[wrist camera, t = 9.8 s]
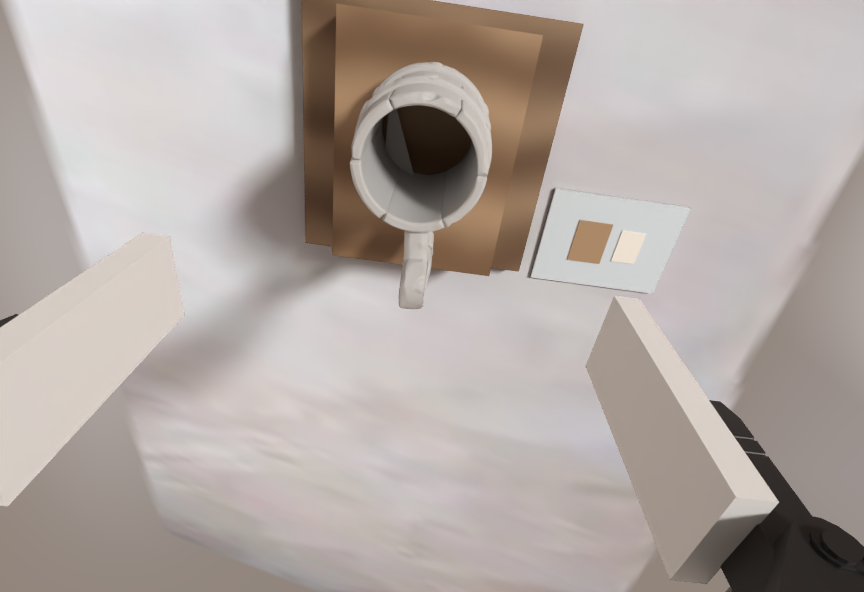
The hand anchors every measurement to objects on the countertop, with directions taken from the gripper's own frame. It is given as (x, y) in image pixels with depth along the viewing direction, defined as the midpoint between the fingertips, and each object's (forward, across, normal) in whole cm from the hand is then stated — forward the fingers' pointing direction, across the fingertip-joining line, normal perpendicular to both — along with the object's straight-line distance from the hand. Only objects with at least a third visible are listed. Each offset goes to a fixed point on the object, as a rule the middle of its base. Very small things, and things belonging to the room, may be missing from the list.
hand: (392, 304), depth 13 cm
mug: (+19, 0, 0) cm, 19 cm away
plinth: (+24, 0, 0) cm, 24 cm away
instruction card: (+24, +16, -6) cm, 29 cm away
